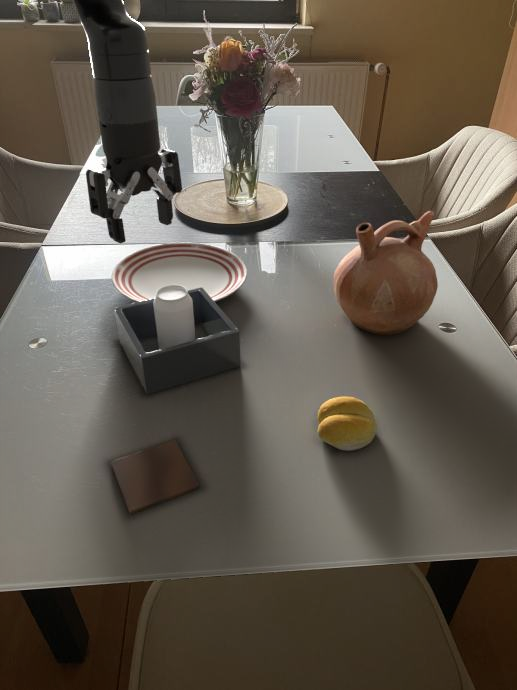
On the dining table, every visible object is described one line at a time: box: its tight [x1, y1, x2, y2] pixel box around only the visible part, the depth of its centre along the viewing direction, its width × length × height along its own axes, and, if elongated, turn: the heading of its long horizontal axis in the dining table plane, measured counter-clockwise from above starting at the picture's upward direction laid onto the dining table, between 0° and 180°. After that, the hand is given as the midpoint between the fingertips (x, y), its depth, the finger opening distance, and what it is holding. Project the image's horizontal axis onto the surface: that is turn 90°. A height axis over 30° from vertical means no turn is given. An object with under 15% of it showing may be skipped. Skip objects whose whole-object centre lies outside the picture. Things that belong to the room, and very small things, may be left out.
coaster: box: [110, 439, 200, 515], centre depth 69 cm, size 9×9×1 cm
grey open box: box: [113, 287, 241, 395], centre depth 89 cm, size 16×16×7 cm
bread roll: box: [317, 396, 378, 452], centre depth 75 cm, size 8×9×4 cm
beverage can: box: [153, 285, 197, 350], centre depth 88 cm, size 6×6×12 cm
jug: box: [333, 210, 439, 336], centre depth 95 cm, size 18×18×20 cm
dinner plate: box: [111, 241, 248, 303], centre depth 111 cm, size 27×27×3 cm
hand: (143, 232), depth 79 cm, fingers open, 8 cm apart
